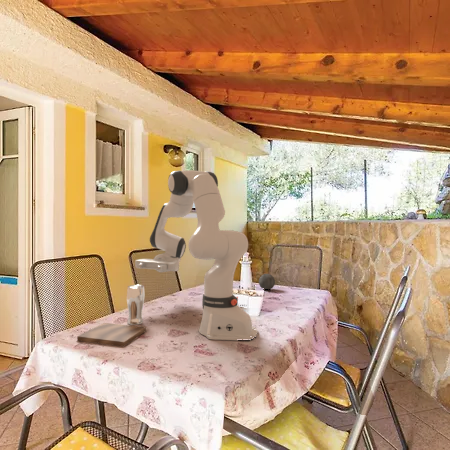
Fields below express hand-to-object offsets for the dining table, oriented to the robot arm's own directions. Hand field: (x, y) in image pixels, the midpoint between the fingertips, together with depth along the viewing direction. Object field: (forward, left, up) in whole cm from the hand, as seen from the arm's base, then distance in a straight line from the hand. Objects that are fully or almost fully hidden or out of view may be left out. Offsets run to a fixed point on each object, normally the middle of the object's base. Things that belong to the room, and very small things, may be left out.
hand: (149, 267), depth 150 cm
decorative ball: (-44, -71, -21) cm, 87 cm away
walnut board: (0, +29, -21) cm, 36 cm away
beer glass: (0, +13, -21) cm, 25 cm away
